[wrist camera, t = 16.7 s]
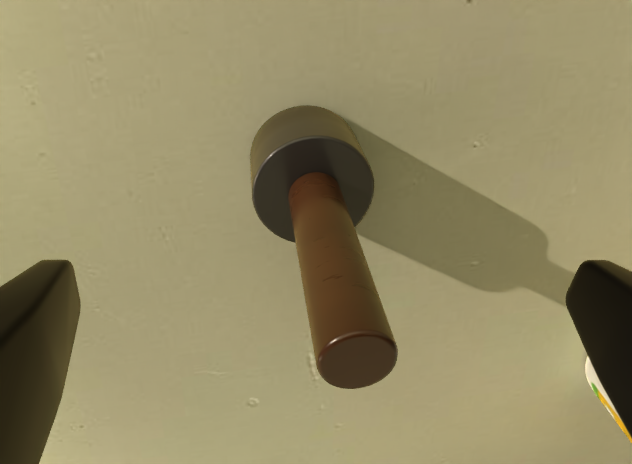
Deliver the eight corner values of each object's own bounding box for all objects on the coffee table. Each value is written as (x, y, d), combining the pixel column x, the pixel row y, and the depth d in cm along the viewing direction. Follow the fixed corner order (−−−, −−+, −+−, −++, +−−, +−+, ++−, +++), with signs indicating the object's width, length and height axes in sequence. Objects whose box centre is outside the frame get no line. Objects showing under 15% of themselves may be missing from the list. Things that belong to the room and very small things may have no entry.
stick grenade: (227, 154, 13) (217, 368, 7) (311, 80, 12) (381, 250, 6) (298, 221, 14) (342, 446, 8) (378, 159, 13) (487, 358, 7)
